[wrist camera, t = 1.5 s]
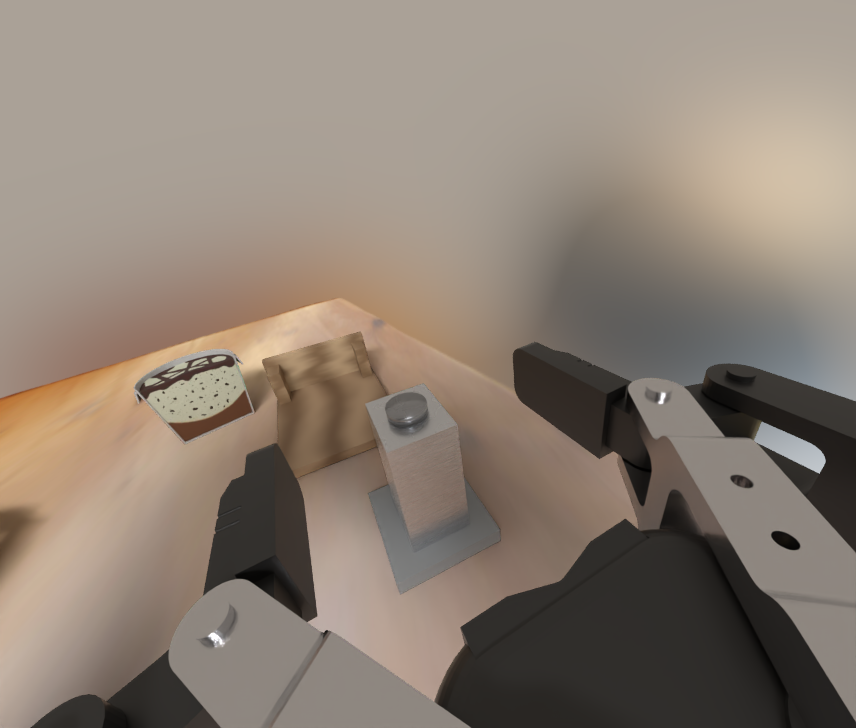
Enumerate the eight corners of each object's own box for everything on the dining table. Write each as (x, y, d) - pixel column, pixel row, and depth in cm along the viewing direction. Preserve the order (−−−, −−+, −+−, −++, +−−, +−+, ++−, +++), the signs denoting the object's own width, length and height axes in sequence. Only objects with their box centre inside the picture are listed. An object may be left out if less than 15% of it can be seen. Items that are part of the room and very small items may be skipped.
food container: (256, 392, 54) (230, 339, 49) (265, 408, 50) (237, 351, 45) (171, 428, 48) (131, 372, 43) (172, 450, 44) (128, 389, 39)
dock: (281, 483, 36) (255, 435, 32) (280, 398, 51) (262, 359, 48) (407, 434, 40) (396, 386, 36) (370, 369, 56) (360, 331, 52)
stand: (400, 594, 24) (396, 584, 24) (371, 503, 32) (368, 493, 31) (500, 540, 27) (500, 529, 26) (452, 467, 34) (450, 457, 34)
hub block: (414, 553, 25) (384, 443, 20) (392, 496, 30) (362, 395, 25) (469, 525, 27) (456, 415, 21) (439, 475, 32) (422, 374, 26)
